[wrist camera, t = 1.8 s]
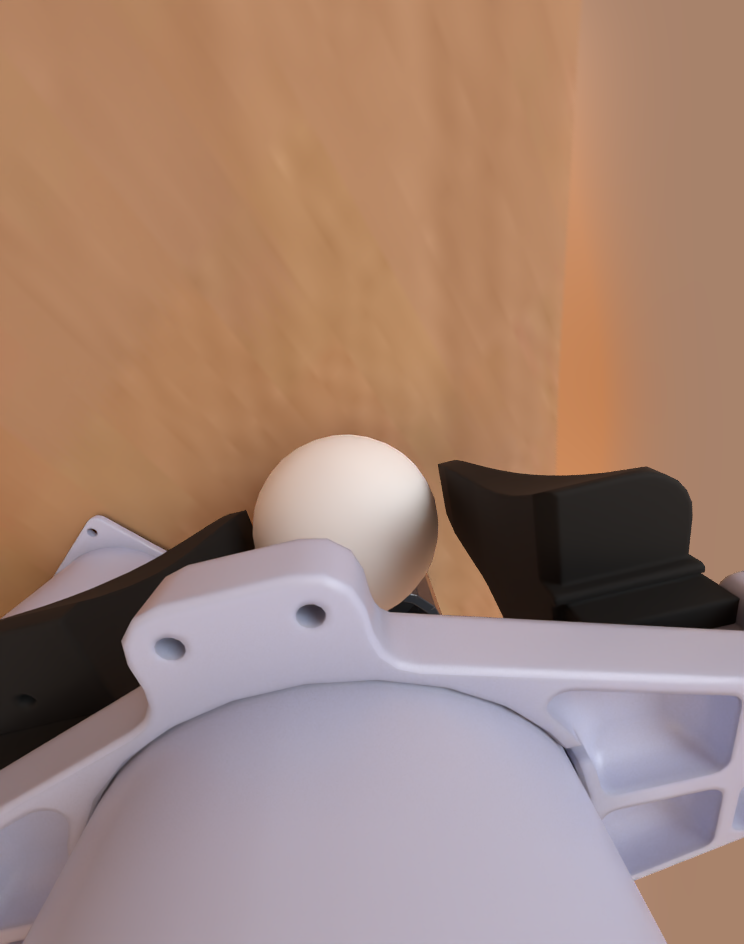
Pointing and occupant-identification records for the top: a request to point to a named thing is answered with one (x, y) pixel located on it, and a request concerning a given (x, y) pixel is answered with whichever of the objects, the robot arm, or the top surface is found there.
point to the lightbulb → (354, 509)
